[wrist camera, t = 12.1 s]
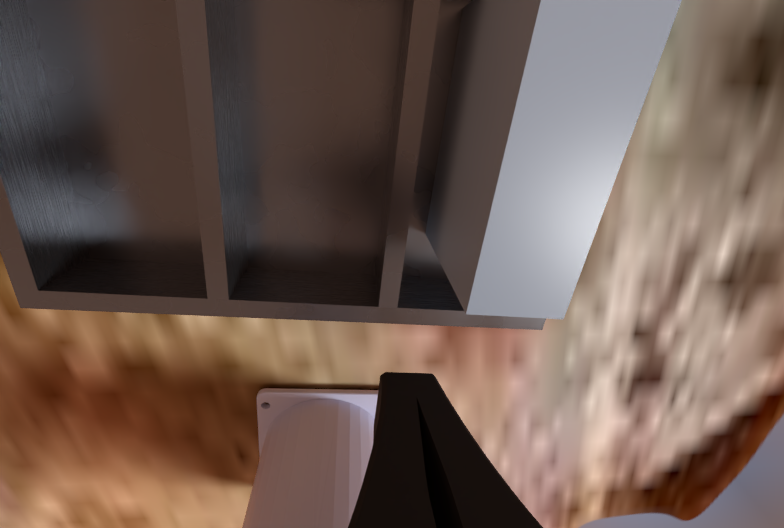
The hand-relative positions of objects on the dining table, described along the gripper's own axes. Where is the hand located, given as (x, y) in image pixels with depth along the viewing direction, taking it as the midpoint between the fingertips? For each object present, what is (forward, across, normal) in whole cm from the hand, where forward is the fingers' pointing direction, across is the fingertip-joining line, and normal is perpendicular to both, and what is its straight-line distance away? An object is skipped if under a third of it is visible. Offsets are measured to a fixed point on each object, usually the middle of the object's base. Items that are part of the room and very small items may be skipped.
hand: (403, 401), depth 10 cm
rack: (+10, +3, -5) cm, 12 cm away
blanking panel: (+9, -4, -6) cm, 11 cm away
